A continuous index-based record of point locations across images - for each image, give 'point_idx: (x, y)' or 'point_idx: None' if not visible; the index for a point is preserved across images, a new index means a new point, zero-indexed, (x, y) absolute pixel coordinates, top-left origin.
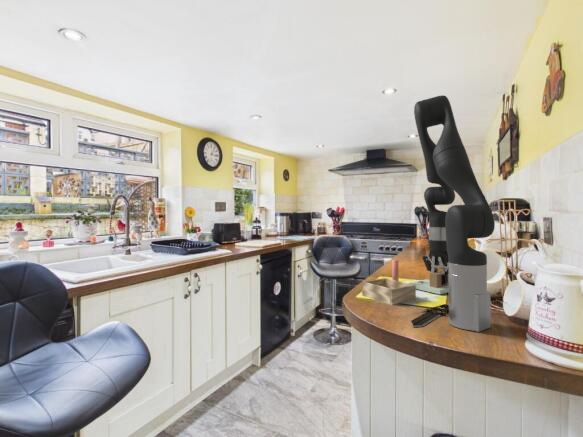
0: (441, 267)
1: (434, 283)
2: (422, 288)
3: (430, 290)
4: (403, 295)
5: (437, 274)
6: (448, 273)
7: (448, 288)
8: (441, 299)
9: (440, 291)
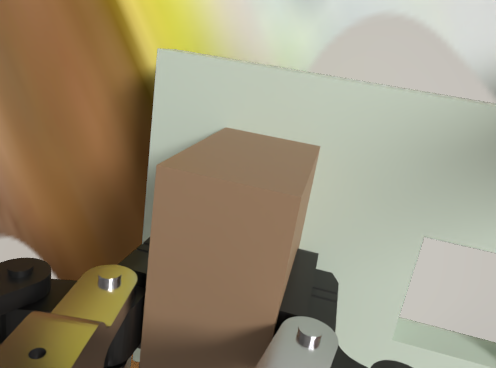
0: (57, 326)
1: (243, 142)
2: (392, 87)
3: (281, 68)
4: None
5: (159, 192)
6: (17, 263)
7: (147, 205)
8: (164, 20)
9: (162, 59)
